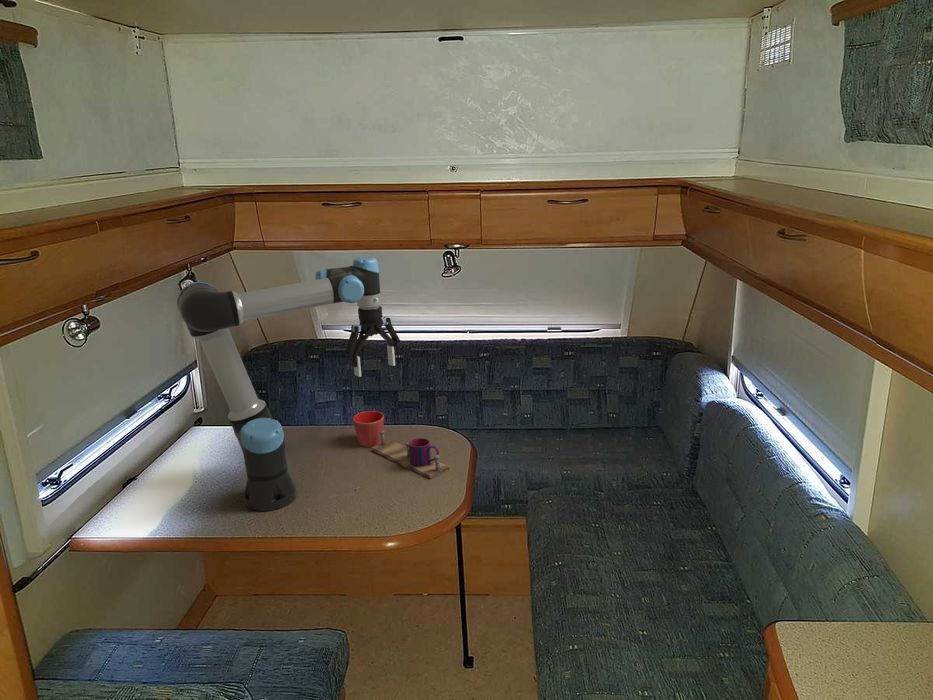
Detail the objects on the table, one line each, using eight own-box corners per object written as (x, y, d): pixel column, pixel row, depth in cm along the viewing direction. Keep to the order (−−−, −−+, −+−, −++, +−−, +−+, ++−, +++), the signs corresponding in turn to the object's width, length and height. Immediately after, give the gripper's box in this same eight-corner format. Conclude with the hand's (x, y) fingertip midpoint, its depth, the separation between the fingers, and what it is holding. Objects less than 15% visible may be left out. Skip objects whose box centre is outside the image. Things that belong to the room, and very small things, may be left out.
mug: (418, 455, 221) (416, 436, 219) (443, 461, 216) (442, 442, 214) (406, 463, 216) (404, 444, 214) (431, 470, 211) (430, 450, 209)
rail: (372, 450, 229) (370, 434, 227) (390, 443, 234) (389, 427, 232) (430, 479, 208) (429, 461, 206) (449, 470, 213) (448, 452, 211)
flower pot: (392, 438, 238) (389, 412, 235) (375, 451, 229) (373, 424, 226) (366, 434, 242) (363, 408, 239) (349, 446, 233) (346, 420, 230)
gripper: (343, 316, 203) (349, 383, 209) (407, 300, 219) (412, 362, 226) (329, 312, 208) (336, 377, 215) (393, 297, 224) (398, 358, 231)
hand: (375, 370), depth 220 cm, fingers open, 13 cm apart
